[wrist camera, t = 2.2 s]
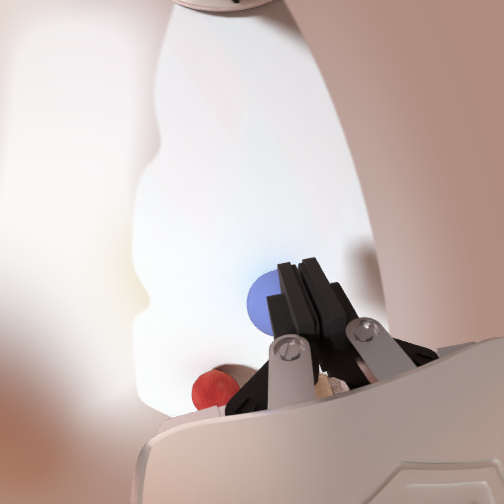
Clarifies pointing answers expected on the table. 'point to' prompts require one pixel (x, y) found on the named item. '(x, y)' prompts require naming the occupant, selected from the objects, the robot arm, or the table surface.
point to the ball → (262, 300)
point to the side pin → (323, 387)
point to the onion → (213, 389)
